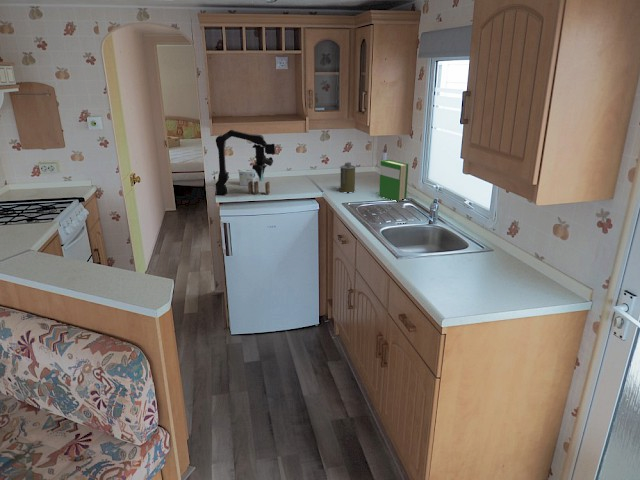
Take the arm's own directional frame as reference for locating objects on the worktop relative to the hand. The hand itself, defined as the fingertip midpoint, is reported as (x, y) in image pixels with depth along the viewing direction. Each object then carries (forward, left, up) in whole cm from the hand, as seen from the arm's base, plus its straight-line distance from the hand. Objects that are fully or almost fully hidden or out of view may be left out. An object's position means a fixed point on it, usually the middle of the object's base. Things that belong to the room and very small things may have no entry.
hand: (261, 177), depth 313 cm
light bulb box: (-17, +23, -12) cm, 31 cm away
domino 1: (-8, 0, -12) cm, 14 cm away
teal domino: (0, 0, -2) cm, 2 cm away
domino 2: (-4, 0, -12) cm, 12 cm away
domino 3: (+4, 0, -12) cm, 12 cm away
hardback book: (+89, +1, -12) cm, 90 cm away
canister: (+58, +14, -12) cm, 60 cm away
